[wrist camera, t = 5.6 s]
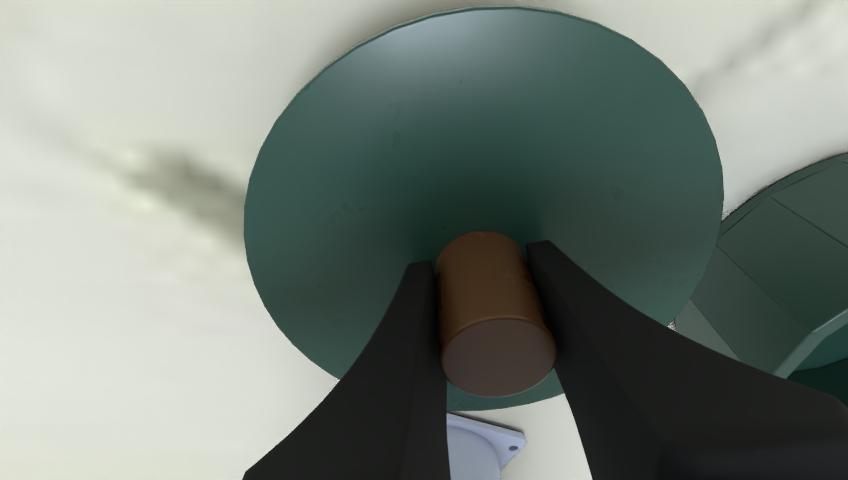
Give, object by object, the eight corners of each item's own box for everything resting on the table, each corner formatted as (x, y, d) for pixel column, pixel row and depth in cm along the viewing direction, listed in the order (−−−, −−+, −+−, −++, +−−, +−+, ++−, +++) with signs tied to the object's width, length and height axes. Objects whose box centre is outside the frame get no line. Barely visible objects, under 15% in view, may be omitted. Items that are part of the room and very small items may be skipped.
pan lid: (676, 357, 16) (757, 479, 12) (339, 408, 17) (317, 531, 14) (740, -68, 9) (977, -91, 5) (164, 76, 10) (19, 139, 7)
